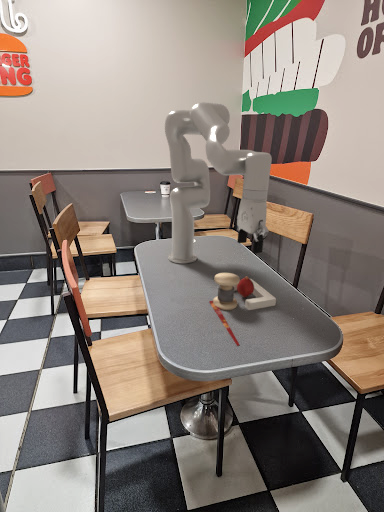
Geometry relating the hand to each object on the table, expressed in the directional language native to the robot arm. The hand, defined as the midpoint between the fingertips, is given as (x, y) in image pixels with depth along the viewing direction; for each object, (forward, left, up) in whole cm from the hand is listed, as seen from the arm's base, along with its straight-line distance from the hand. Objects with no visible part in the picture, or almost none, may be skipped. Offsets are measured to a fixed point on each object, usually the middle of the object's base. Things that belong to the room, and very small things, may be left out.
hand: (249, 247), depth 103 cm
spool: (+2, -8, -18) cm, 20 cm away
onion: (0, 0, -18) cm, 18 cm away
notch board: (0, +2, -18) cm, 18 cm away
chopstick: (+12, -13, -19) cm, 26 cm away
